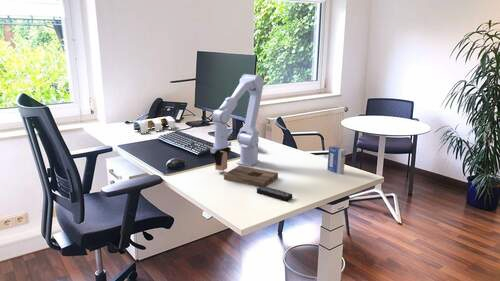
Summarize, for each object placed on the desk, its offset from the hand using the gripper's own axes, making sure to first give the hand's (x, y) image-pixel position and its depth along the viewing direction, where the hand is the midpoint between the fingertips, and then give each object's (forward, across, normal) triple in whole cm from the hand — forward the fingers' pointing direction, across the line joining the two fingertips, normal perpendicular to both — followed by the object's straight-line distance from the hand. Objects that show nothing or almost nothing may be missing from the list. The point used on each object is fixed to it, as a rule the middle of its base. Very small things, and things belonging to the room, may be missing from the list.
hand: (221, 163), depth 180 cm
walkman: (+4, -29, +46) cm, 55 cm away
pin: (+2, 0, 0) cm, 2 cm away
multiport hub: (+5, +12, +33) cm, 35 cm away
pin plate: (+4, 0, +16) cm, 17 cm away
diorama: (+5, -45, -82) cm, 93 cm away
